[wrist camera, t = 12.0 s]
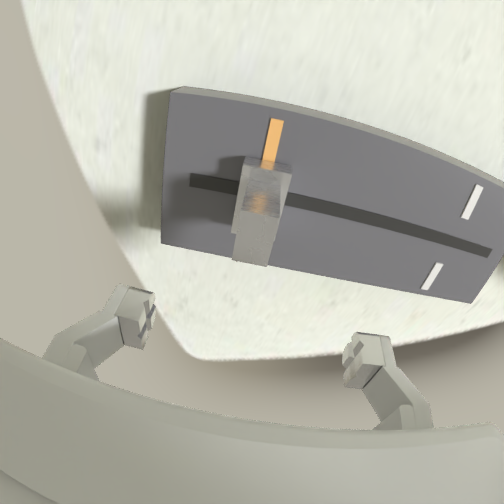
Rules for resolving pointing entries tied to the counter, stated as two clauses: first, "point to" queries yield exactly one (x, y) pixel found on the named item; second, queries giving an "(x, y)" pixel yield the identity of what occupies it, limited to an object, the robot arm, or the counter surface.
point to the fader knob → (259, 209)
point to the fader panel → (332, 195)
